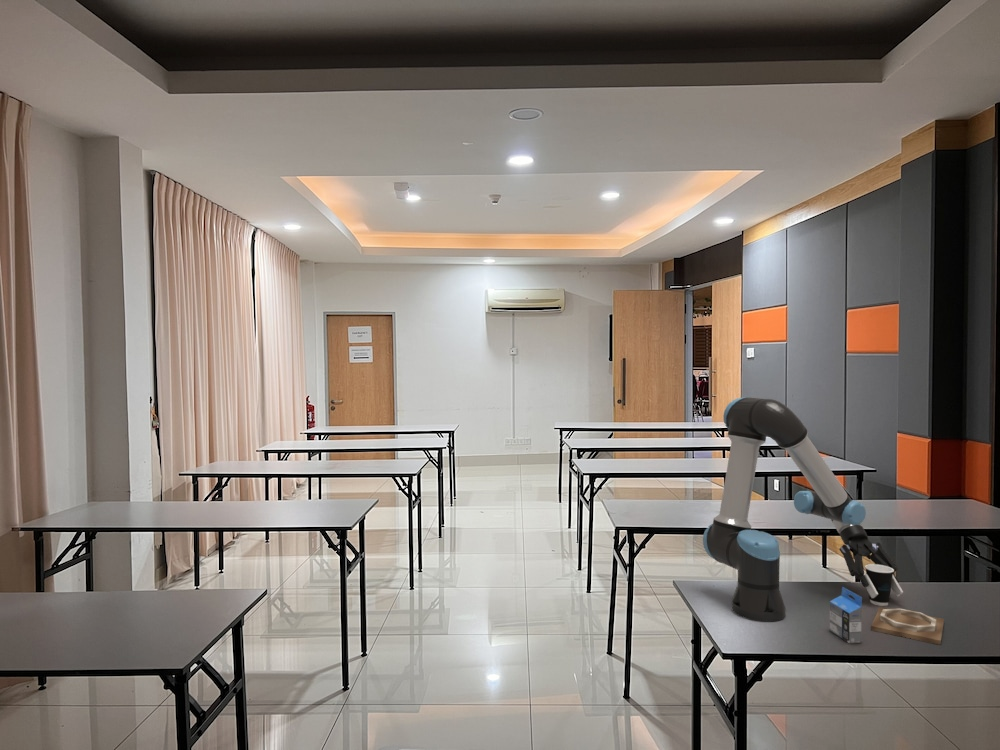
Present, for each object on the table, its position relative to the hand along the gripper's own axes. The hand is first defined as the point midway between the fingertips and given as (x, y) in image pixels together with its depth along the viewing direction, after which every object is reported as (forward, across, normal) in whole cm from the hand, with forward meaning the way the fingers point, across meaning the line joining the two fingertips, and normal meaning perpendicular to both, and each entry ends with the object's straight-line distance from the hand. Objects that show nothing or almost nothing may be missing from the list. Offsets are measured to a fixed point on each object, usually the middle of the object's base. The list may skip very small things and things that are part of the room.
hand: (887, 595), depth 196 cm
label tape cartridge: (+15, +28, +9) cm, 33 cm away
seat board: (+13, +6, +7) cm, 16 cm away
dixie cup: (0, 0, -5) cm, 5 cm away
